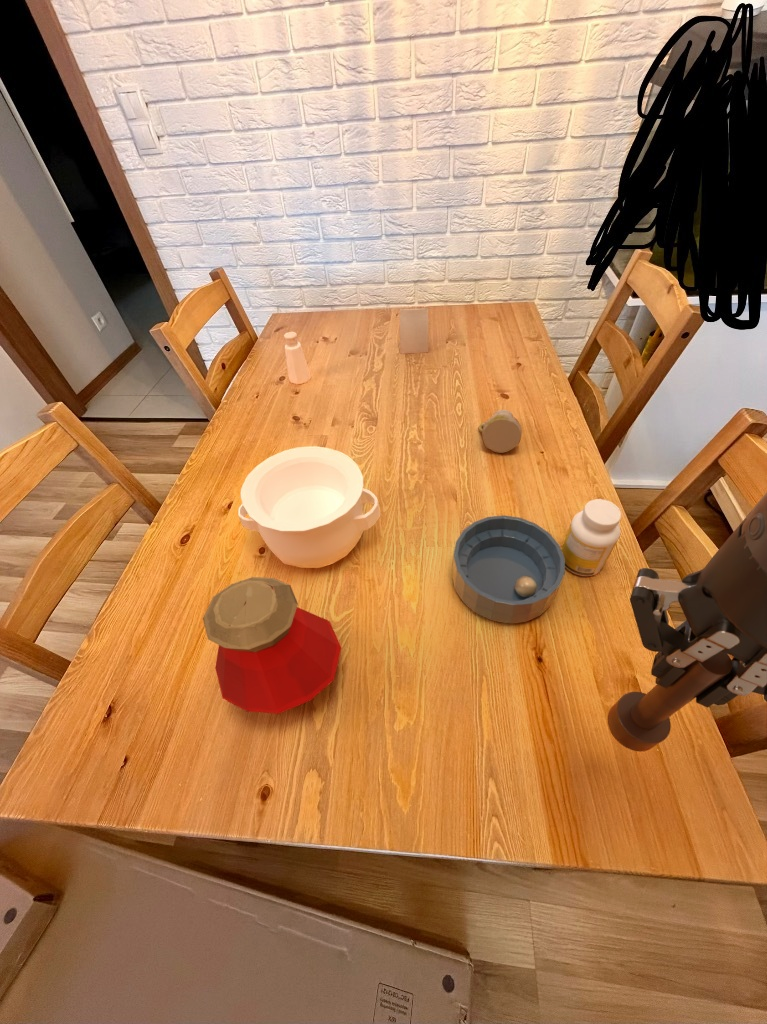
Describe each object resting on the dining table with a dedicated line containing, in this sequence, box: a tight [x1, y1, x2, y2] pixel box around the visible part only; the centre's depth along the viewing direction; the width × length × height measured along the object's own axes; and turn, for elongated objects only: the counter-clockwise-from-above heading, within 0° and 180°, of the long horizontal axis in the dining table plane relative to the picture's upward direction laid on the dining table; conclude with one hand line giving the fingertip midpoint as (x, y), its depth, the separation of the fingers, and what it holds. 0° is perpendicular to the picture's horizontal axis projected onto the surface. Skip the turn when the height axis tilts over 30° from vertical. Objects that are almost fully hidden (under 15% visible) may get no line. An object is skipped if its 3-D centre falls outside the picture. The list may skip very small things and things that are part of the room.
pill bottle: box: [560, 498, 622, 577], centre depth 66 cm, size 6×6×12 cm
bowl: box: [451, 514, 566, 624], centre depth 67 cm, size 15×15×6 cm
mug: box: [477, 409, 523, 454], centre depth 88 cm, size 8×10×10 cm
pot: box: [237, 445, 381, 569], centre depth 72 cm, size 22×17×12 cm
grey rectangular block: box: [398, 307, 430, 355], centre depth 110 cm, size 4×7×10 cm, turn 89°
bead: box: [515, 576, 537, 597], centre depth 66 cm, size 3×3×3 cm
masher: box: [606, 652, 732, 753], centre depth 37 cm, size 4×4×16 cm
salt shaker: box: [283, 331, 312, 385], centre depth 104 cm, size 5×5×11 cm
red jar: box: [202, 576, 342, 715], centre depth 54 cm, size 16×14×20 cm
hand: (681, 683), depth 35 cm, fingers closed on masher, 2 cm apart
